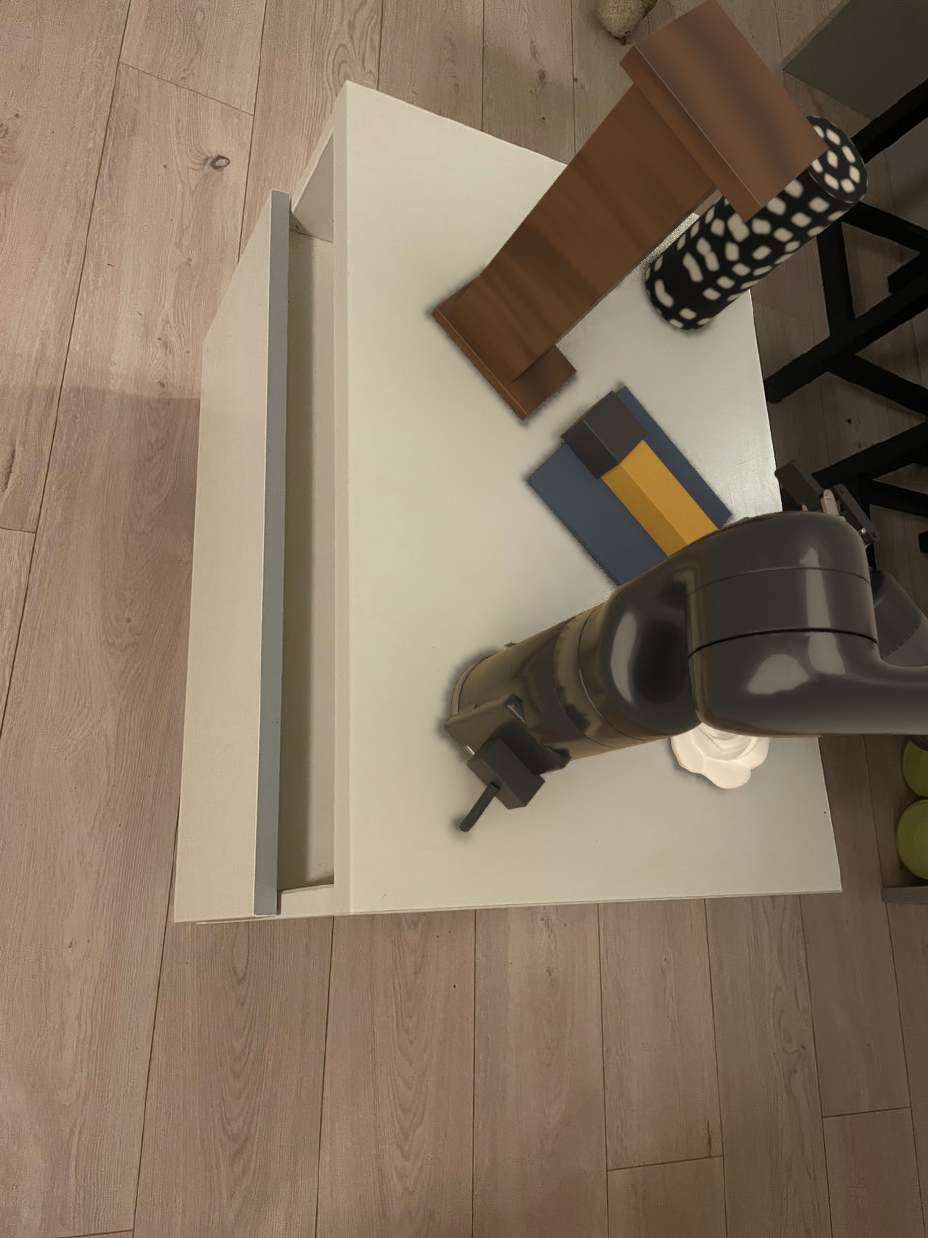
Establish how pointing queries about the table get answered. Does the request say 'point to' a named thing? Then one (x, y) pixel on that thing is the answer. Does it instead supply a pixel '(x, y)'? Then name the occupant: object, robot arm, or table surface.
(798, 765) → the table surface
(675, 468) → the desk mat
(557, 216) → the stand
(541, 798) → the table surface
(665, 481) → the pen box
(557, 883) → the table surface
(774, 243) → the white-spotted black cylinder
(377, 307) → the table surface
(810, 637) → the robot arm
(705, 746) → the rose
